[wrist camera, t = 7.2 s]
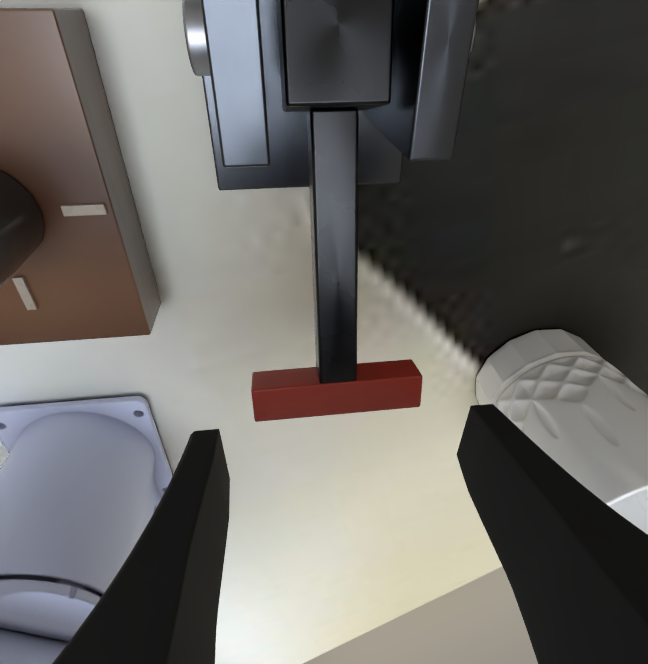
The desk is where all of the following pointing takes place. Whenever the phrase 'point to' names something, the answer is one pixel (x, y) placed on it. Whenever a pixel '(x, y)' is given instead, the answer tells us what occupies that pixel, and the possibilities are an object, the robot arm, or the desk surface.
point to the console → (68, 189)
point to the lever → (335, 203)
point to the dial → (17, 226)
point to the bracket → (291, 127)
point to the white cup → (575, 414)
